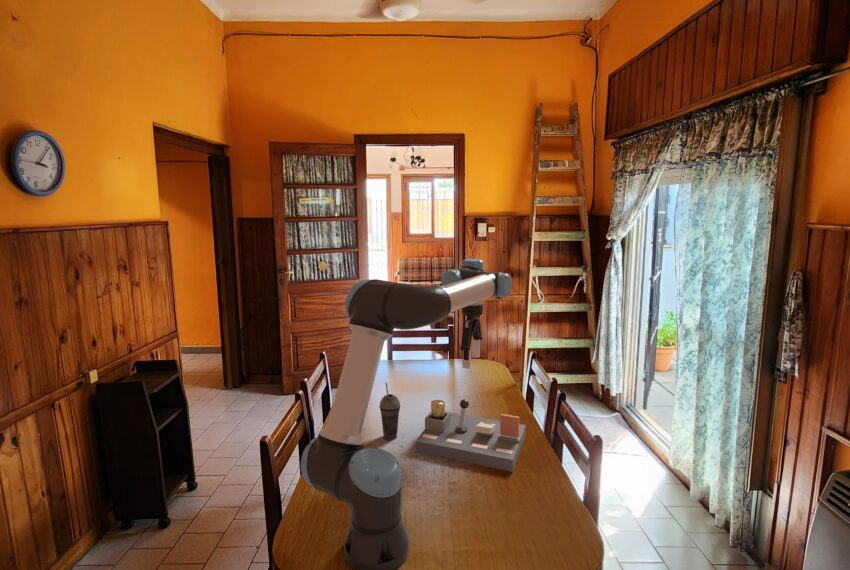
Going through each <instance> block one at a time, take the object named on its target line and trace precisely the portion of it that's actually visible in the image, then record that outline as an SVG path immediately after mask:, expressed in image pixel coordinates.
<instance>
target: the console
mask: <svg viewBox="0 0 850 570" xmlns="http://www.w3.org/2000/svg"><path fill="white" fill-rule="evenodd" d="M460 414H461V413H455V412H452V411H450V412H449V411H445V418H444V419H443V420H438V419H432V418H431V411H429V413H428V414H427V415H426V416H425V418H424V430H423V431H422V432H421V433H420V435H418V437H417V438H416V440H415V453H418V454H423V455H428V456H434V457H439V458H443V459H447V460H448V459H449V460H452V461H458V462H462V463H467V464H471V465H477V466H482V467H486V468H491V469H497V470H501V471H506V472H510V473H513V472H514V469H515V467H516V464H517V460H518V458H519V456H520V455H519V454H520V451H521V449H522V446H523V443H524V441H525V437H526V430H527V429H526V427H527V425H526V424H521V423H519V437H518V438H515V437H509V436H504V435H500V420H497V419H491V418H485V417H481V416H473V415H467V414H466V415H465V422H464V426H461V425H459V422H460ZM480 422H485V423H491V424H495V431H494V432H493V433H492V434H485V433H480V432H476V425H478V424H479V423H480Z"/></svg>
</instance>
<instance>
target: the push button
mask: <svg viewBox="0 0 850 570" xmlns="http://www.w3.org/2000/svg"><path fill="white" fill-rule="evenodd" d="M430 412H431V418H432V419H438V420H443V419H444V418H445V412H446V401H444V400H442V399H433V400H432V401H430Z"/></svg>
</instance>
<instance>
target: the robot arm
mask: <svg viewBox="0 0 850 570" xmlns="http://www.w3.org/2000/svg"><path fill="white" fill-rule="evenodd" d="M440 284H441V285H438V284H430V285H417V284H410V283H401V282H395V281H389V280H382V279H377V278H375V279H373V278H372V279H369V278H367V279H362V280H359V281H358V282H357V283H354V284H353V285H352V287H351V288H350V289H349V291H348V292H347V295H346V297H345V302H344V308H345V310H346V311H345V313H346V315H347V317H348V318H349V322H348V328H349V329H350V330H351V332H352V333H351V337H350V340H349V343H348V349H347V353H346V355H345V359H344V363H343V367H342V370H341V374H340V377H339V382H338V384H337V389H336V392H335V395H334V399H333V402H332V406H331V411H330V414H329V418H328V422H327V425H326V426H325V427H324V428H322V429H320V430H319V432H318V435H317V437H314V438H313V439H311V440H310V441H309V444H307V445H306V446H305V448H304V450H303V452H302V454H301V460H300V471H301V475H302V478H304V480H305V482H306V483H307V484H308V485H310V486H312V487H313V488H314V489H315V490H316V491H320V492H322V493H325V494H326V495H328V496H330V497H331V498H334V499H336V500H338V501H340V502H342V503H344V504H345V505H348V506H349V508H350V525H349V527H348V531H347V534H346V537H345V541H344V546H343V547H344V548H343V549H344V550H343V551H344V559H345V561H346V563H347V564H348V566H349V567H350V568H351V569H352V570H397V569H398V568H399V567H401V566H402V565H403V564H404V562H405V561H406V560H407V558H408V556H409V552H410V540H409V536H408V533H407V531H406V527H405V525H404V522H403V519H402V485H403V484H402V481H403V480H402V472H401V465H400V462H399V460H398V459H397V458H396V456H395V455H394V454H393V453H391V452H390V451H387V450H386V449H382V448H376V447H375V449H373V448H372V447H369V448H368V447H366V448H364V447H365V440H364V438H363V436H362V429H363V426H364V422H365V418H366V414H367V410H368V406H369V402H370V398H371V394H372V391H373V388H374V383H375V380H376V375H377V371H378V369H379V364H380V360H381V357H382V353H383V349H384V346H385V342H386V340H388V339H390V338H392V336H393V335H394V329H396V330H401V331H402V330H406V331H407V330H415V329H419V328H423V327H427V326H430V325H435V324H437V323H439V322H441V321H444V320H446V319H447V318H448V317H449V316H450V314H451V313H453V312H456V311H459V310H461V314H462V315H463V316H465V317H466V319H465V320H464V321H463V322H462V324H463V326H462V335H461V344H460V348H459V350H460V351H462V363H461V364H462V369H468V370H470V369H471V364H472V363H471V361H472V358H480V356H481V355H480V353H481V352H480V350H481V349H480V348H481V345H480V344H481V340H483V335H482V326H481V325H482V324H481V316H482V315H484V304H483V302H484V300H486V299H489V298H492V297H493V298H494V297H497V298H507V297H508V296H509V295H510V294H511V291H512V287H513V280H512V277H511V275H510V274H509V273H505V272H501V271H497V272H496V271H487V270H486V271H485V264H484V260H482V259H480V258H479V259H478V258H466V259H465V258H464V259H463V260H462V261H461V267H458V268H451V269H449V270H447V271H444V273H443V274H442V275H441V277H440Z"/></svg>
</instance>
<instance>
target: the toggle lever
mask: <svg viewBox="0 0 850 570" xmlns="http://www.w3.org/2000/svg"><path fill="white" fill-rule="evenodd" d="M469 406H470V402H469V400H468V399H465V398H464V399H462V400H460V401H459V408H460V413H459V414H460V422H459V425H461V426H464V422H465V415H467V414H466V413H467V408H469Z"/></svg>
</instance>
